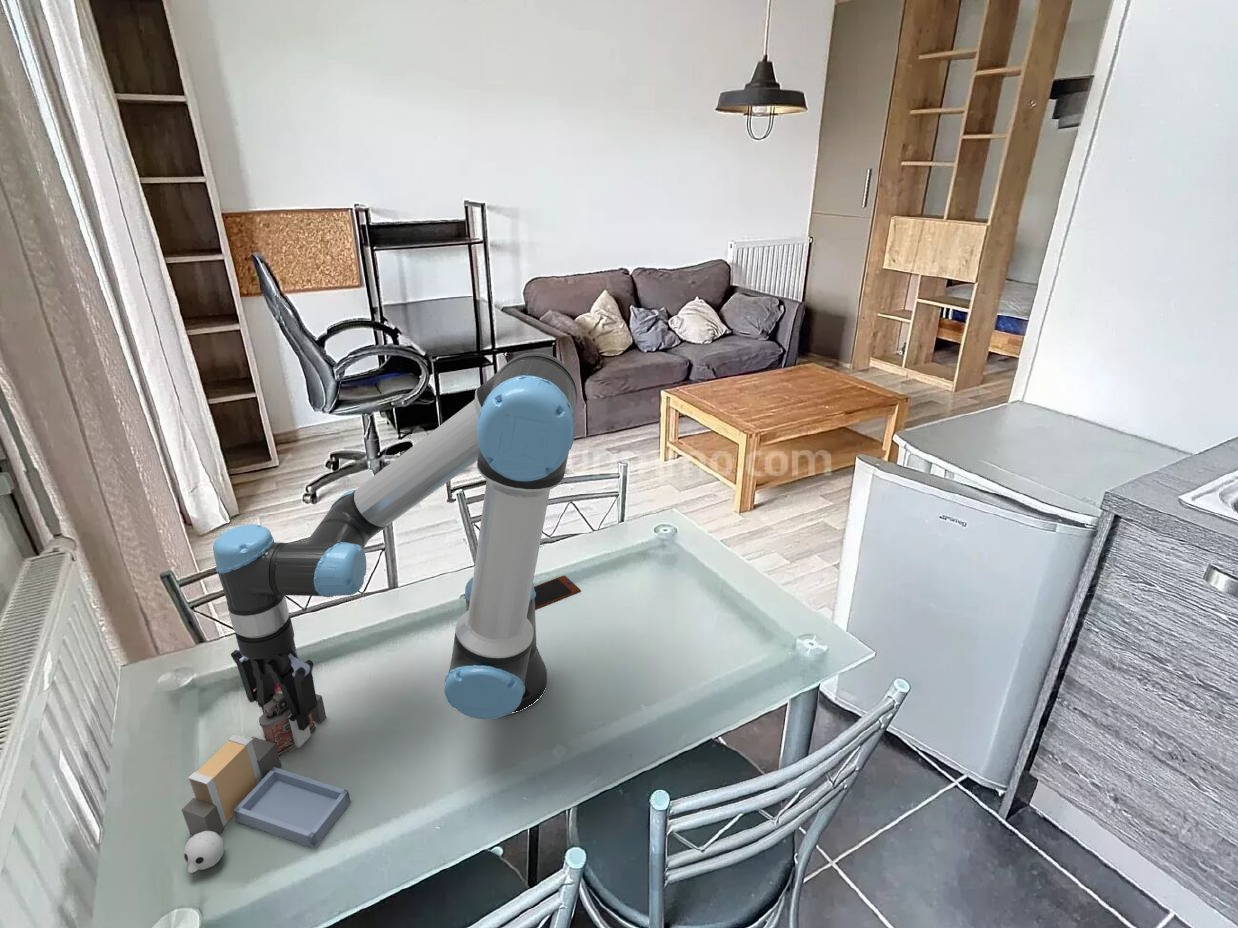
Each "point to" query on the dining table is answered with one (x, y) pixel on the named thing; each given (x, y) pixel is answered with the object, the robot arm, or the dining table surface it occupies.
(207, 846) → the figurine
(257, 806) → the tray
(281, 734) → the lighter
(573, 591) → the smartphone
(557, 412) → the robot arm
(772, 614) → the dining table surface
